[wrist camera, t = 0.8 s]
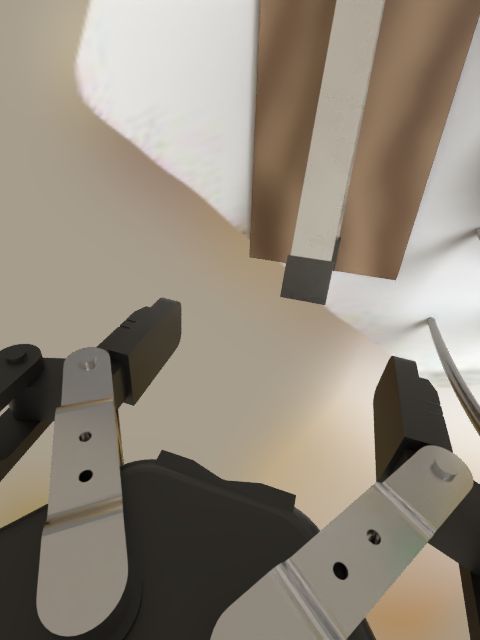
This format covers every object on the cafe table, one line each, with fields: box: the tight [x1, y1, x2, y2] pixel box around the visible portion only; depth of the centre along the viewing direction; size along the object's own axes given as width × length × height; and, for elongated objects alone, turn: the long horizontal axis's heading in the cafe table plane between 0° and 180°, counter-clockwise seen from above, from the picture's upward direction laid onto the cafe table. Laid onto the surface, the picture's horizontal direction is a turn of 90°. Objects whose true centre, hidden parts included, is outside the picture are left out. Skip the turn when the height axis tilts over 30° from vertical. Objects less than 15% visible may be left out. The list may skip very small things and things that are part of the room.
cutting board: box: [250, 0, 480, 280], centre depth 30 cm, size 16×28×2 cm, turn 178°
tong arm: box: [281, 0, 384, 305], centre depth 24 cm, size 4×24×1 cm, turn 178°
